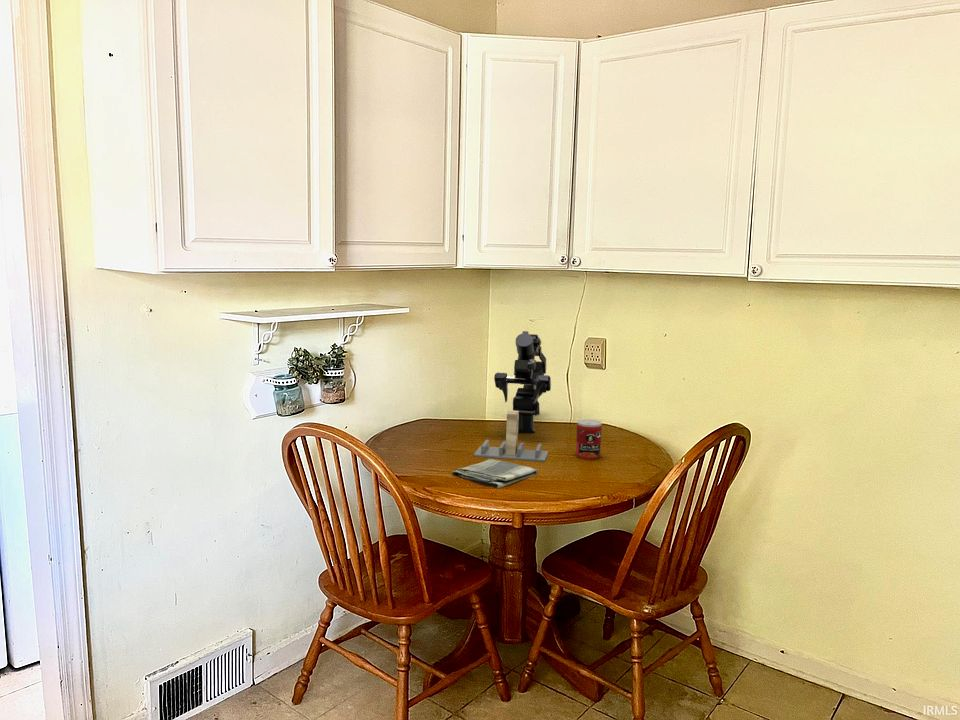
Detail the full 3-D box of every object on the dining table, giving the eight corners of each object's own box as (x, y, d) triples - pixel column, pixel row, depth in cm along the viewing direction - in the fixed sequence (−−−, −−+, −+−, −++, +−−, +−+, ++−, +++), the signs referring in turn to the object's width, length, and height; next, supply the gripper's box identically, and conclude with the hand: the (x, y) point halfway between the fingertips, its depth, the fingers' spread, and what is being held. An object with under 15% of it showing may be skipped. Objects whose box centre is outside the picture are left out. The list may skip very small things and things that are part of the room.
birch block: (507, 450, 229) (509, 410, 227) (517, 451, 229) (518, 411, 227) (505, 454, 225) (506, 413, 223) (515, 455, 225) (516, 414, 223)
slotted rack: (480, 447, 234) (480, 438, 234) (548, 453, 230) (548, 443, 229) (473, 456, 224) (474, 446, 224) (544, 462, 220) (545, 452, 220)
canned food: (576, 459, 224) (578, 424, 222) (574, 452, 232) (575, 418, 230) (601, 460, 224) (603, 425, 222) (598, 452, 232) (600, 419, 230)
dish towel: (490, 463, 220) (490, 452, 219) (538, 476, 208) (539, 465, 208) (449, 477, 206) (449, 466, 205) (498, 491, 194) (499, 480, 194)
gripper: (495, 348, 244) (488, 387, 235) (551, 351, 240) (546, 390, 231) (499, 368, 252) (492, 405, 243) (552, 371, 249) (548, 409, 240)
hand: (519, 402), depth 239 cm, fingers open, 9 cm apart
